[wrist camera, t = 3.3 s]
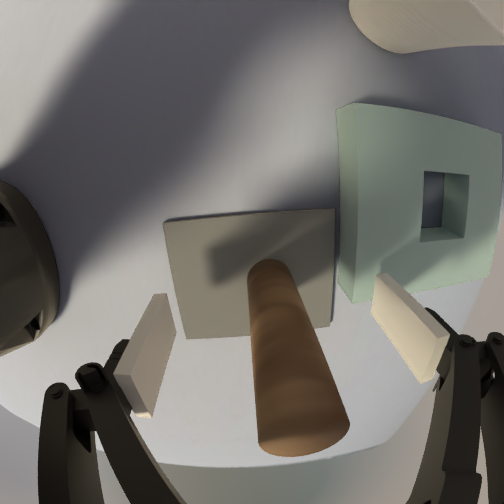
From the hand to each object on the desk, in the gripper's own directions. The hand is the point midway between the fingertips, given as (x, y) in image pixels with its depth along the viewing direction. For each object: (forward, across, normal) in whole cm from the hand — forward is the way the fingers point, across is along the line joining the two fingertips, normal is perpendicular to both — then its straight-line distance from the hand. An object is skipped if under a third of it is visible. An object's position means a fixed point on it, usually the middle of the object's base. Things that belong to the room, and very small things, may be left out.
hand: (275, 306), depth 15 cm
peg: (+3, 0, 0) cm, 3 cm away
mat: (+4, -1, 0) cm, 4 cm away
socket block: (+4, +12, +5) cm, 14 cm away
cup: (+4, +10, +19) cm, 22 cm away
